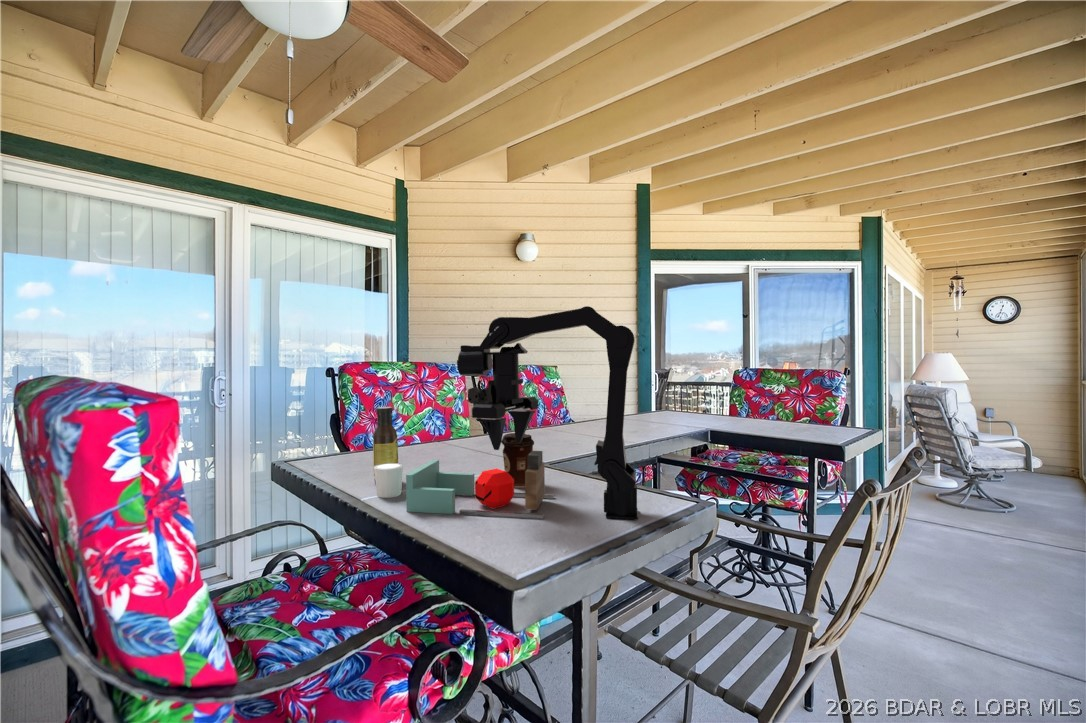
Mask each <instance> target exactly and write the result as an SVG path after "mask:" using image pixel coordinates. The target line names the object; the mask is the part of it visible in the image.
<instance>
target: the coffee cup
mask: <svg viewBox="0 0 1086 723" xmlns="http://www.w3.org/2000/svg"><path fill="white" fill-rule="evenodd" d="M503 435H504V436H502V440H501V444H502V445H503V449H502V458H503V468H504V470H503V471H506V472H508V473H509V474H510V476H511V477H512V478H513V479H514V489H516V488H517V489H521V488H522V489H525V472H526V470H527V469H528V462H527V455H528V454H529V453H530V452H531V451H534V450H533V449H534V445H535V442H534V439H532V435H531V434H526V433H525V434H524V436H523V439H522V441H521V442H516V438H515V432H511V433H509V432H508V433H506V434H503Z"/></svg>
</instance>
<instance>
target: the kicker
mask: <svg viewBox="0 0 1086 723" xmlns="http://www.w3.org/2000/svg"><path fill="white" fill-rule="evenodd" d="M527 462H528V469H527V470H526V472H525V488H524V493H525V498H524V499H525V500H524V503H525V504H524V505H525V506H524V507H525V508H524V509H525V510H529V511H530V510H531V511H537V510H538V508H539V506H540V505H541V503H542V502H543V500H544V499H545V498H544V496H545V494H546V493H545V492H546V491H545V490H546V489H545V481H546V480H545V476H546V475H545V474H546V473H545V461H543V450H533V451H531V452H530V453H529V454H528V455H527Z"/></svg>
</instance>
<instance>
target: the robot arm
mask: <svg viewBox="0 0 1086 723" xmlns="http://www.w3.org/2000/svg"><path fill="white" fill-rule="evenodd" d="M579 327H588V328H589V329H590V330H591V331H593V332H594V333H595V334H597V335H598V336H600V337H601V338H602V339H604V340H605V343H606V346H605V347H606V353H607V360H608V366H609V373H608V374H609V375H608V377H609V378H608V389H607V404H606V418H605V420H606V421H605V434H604V439H603V440H600V439H599V440H597V442H596V444H595V453H596V459H595V461H594V464H593V465H594V466H597V472H598V474H599V476H600V477H601V478H602V479H603V480H606V489H605V490H604V491H603V512H604V513H605V518H606V519H619V520H620V519H621V520H638V519H639V516H638V515H639V514H638V511H639V510H638V483H636V481H637V480H636V478H637V471H636V470H635V468H633V467H632V466H631V465H630V464H629V463H628V462H627V455H626V446H625V440H624V423H625V410H626V393H627V380H628V379H627V378H628V369H629V366H630V362H631V361H630V360H631V357H632V354H633V349H634V345H635V341H636V340H635V336H634V333H633V330H631V329H630V328H629V327H627V326H625V325H616V324H614V323H613V322H611V321H610V320H608V319H607V317H606V318H605V317H604V316H603V315H601V314H600V313H598V312H597V310H595V309H594V308H593V307H592V306H589V305H588V306H587V305H586V306H583V307H580V308H576V309H571V310H569V309H568V310H565V311H559V312H553V313H547V314H541V315H536V316H532V317H522V316H521V317H519V316H515V317H514V316H506V317H505V316H500V317H499V316H498V317H495V318H493V320H492V321H491V322H490V324H489V327H488V333H487V335H486V336H485V337H484V339H483V341H482V342H481V343H480V344H479V345H460V351H459V353H458V356H457V360H456V367H457V372H458V373H459V375H460V376H461V377H462V376H463V377H465V376H468V377H469V376H487V375H488V373H489V372H490V371H492V379H490V380H488V382H487V386H488V387H485V388H483V389H482V388H481V389H480V388H479V387H471V388H469V389H467V402H468V403H470V404H473V406H472V407H471V418H472V419H475V421H476V422H480V423H481V424H482V425H483V427H485V430H486V432H487V434H488V437H489V440H490V442H491V445H492V448H493V450H494V451H499V450H500V447H501V444H502V442H501V440H502V439H503V435H504V432H505V431H504V430H505V427H506V421H507V418H506V417H505V415H506V412H508V413H509V415H510V416H511V418H512V420H513V430H514V433H515V438H516V442H521V441H522V439H523V436H524V434H526V432H527V429H528V426H529V424H530V422H531V420H532V418H533V416H534V414H536V410H537V409H539V400H538V399H537V398H536V396H527V395H526V396H521V395H520V385H522V384H524V379H523V378H520V373H519V372H520V371H519V369H520V366H519V364H520V362H519V355H520V354H521V355H522V354H528V350H527V349H526V348H525V347H524V346H523V345H522V344H521V343H520V341H522V340H525V339H528V338H530V337H533V336H534V335H540V334H544V333H551V332H557V331H562V330H568V329H574V328H579ZM511 344H515V345H514V346H505V345H511ZM497 349H500V350H499V351H495V352H494V351H491V350H497Z"/></svg>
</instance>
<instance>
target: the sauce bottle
mask: <svg viewBox="0 0 1086 723" xmlns="http://www.w3.org/2000/svg"><path fill="white" fill-rule="evenodd" d="M375 410H376V411H375V412H376V415H377V416H376V417H377V423H376V428H375V430H374V431H373V434H372V438H373V439H372V449H373V450H372V452H373V453H372V454H373V456H372V458H373V459H372V460H373V462H372V463H373V467H374V466H376V465H380V464H385V463H399V446H398V445H399V444H398V433H397V430H396V429H395V426H394V425H393V411H394V408H393V407H392V406H381V407H380V406H379V407H378V406H377V407H376V408H375ZM373 476H374V477H375V472H374V471H373ZM374 483H375V484H376V481H375V478H374Z"/></svg>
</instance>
